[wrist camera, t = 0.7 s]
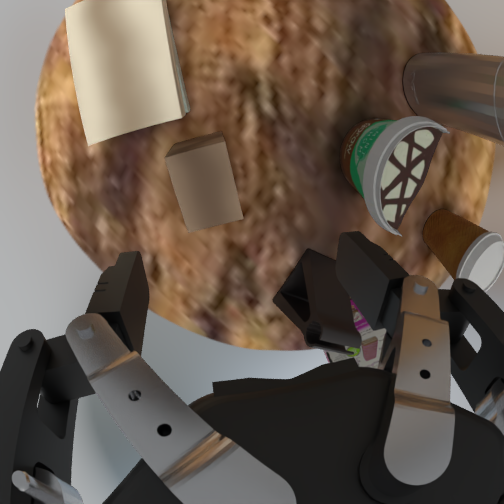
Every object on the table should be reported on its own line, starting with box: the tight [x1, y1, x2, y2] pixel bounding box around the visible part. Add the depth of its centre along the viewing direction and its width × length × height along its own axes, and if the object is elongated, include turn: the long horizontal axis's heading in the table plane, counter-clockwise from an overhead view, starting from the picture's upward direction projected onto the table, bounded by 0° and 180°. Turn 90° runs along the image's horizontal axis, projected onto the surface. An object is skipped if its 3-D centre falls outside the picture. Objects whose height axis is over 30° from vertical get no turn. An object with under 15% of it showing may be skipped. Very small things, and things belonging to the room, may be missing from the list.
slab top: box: [65, 0, 186, 146], centre depth 18 cm, size 8×13×4 cm, turn 8°
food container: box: [340, 116, 450, 236], centre depth 26 cm, size 12×6×10 cm, turn 160°
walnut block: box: [165, 131, 243, 233], centre depth 27 cm, size 5×7×7 cm
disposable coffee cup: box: [423, 209, 504, 292], centre depth 33 cm, size 10×10×12 cm
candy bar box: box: [324, 299, 386, 368], centre depth 36 cm, size 11×5×16 cm, turn 112°
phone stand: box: [273, 249, 362, 355], centre depth 34 cm, size 9×6×12 cm, turn 151°
